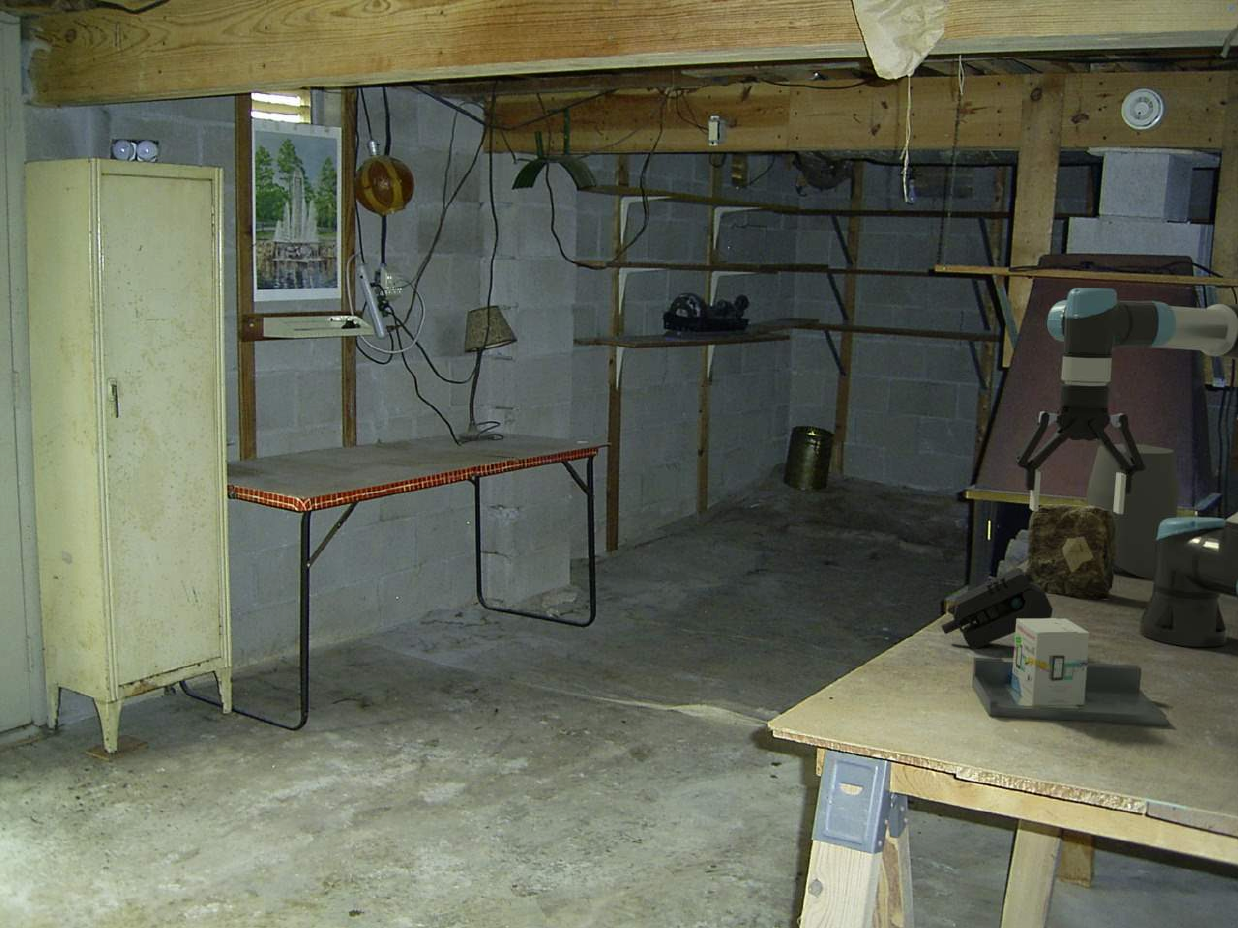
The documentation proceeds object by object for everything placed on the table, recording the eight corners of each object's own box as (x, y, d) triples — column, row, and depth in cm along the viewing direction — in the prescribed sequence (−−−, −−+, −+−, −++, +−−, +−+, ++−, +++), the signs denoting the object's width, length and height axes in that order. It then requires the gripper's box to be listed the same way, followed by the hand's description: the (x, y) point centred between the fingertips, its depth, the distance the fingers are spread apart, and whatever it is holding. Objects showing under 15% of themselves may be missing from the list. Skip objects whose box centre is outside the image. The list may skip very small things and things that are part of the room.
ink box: (1009, 687, 194) (1014, 616, 193) (1061, 687, 195) (1066, 616, 193) (1031, 705, 186) (1037, 631, 184) (1085, 705, 187) (1091, 631, 185)
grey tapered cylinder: (1139, 558, 302) (1149, 439, 298) (1189, 577, 283) (1201, 450, 278) (1065, 560, 299) (1074, 439, 295) (1111, 579, 279) (1122, 450, 275)
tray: (1135, 695, 197) (1138, 664, 196) (1166, 725, 183) (1169, 692, 182) (972, 687, 199) (974, 656, 198) (989, 716, 185) (991, 683, 185)
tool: (1070, 640, 217) (1032, 567, 217) (970, 684, 222) (932, 612, 221) (1065, 631, 223) (1027, 559, 223) (968, 674, 228) (931, 603, 227)
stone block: (1112, 593, 266) (1119, 503, 263) (1112, 602, 258) (1119, 509, 255) (1024, 584, 273) (1031, 496, 270) (1021, 592, 264) (1028, 502, 262)
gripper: (1156, 383, 201) (1146, 509, 204) (1002, 379, 203) (994, 504, 206) (1172, 387, 193) (1161, 518, 196) (1012, 383, 196) (1003, 512, 199)
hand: (1075, 511), depth 201 cm, fingers open, 13 cm apart
